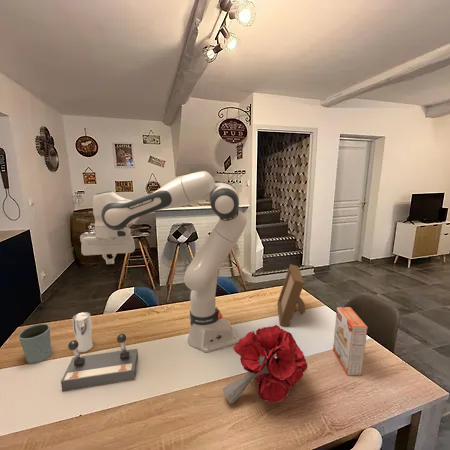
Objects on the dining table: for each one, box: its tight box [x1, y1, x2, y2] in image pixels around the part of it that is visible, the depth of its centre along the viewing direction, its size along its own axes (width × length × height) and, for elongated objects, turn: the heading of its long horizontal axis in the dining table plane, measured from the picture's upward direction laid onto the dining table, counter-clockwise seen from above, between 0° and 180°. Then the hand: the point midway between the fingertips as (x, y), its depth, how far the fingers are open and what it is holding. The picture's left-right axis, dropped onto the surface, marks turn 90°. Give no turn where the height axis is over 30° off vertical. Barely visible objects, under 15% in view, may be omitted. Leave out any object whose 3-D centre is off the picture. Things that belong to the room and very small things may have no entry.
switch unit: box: [60, 348, 139, 392], centre depth 97 cm, size 24×12×4 cm, turn 103°
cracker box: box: [332, 306, 369, 376], centre depth 101 cm, size 14×6×21 cm, turn 178°
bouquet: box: [222, 324, 308, 405], centre depth 88 cm, size 22×24×30 cm
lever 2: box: [116, 333, 130, 359], centre depth 97 cm, size 3×3×13 cm
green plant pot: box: [18, 323, 53, 365], centre depth 105 cm, size 10×10×12 cm
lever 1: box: [67, 339, 85, 366], centre depth 93 cm, size 3×3×13 cm
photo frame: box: [277, 263, 306, 328], centre depth 134 cm, size 15×22×25 cm
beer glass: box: [72, 311, 94, 353], centre depth 110 cm, size 7×7×15 cm
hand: (110, 263), depth 108 cm, fingers closed
